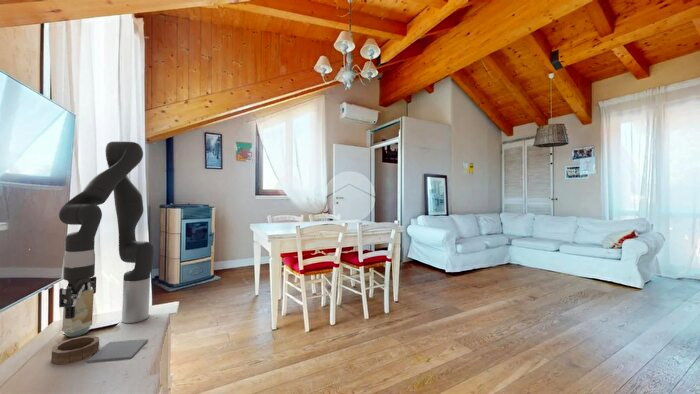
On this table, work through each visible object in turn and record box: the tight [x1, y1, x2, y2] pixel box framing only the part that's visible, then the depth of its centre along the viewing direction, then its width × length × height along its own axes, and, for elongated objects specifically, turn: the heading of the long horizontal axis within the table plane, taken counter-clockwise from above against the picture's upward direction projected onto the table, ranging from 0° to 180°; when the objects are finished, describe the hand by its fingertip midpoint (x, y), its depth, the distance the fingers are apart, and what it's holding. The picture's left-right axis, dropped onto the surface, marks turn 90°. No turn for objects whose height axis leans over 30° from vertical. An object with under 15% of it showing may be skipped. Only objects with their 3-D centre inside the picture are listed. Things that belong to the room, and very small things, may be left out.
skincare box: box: [61, 289, 95, 333], centre depth 95 cm, size 6×4×12 cm
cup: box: [63, 326, 91, 338], centre depth 108 cm, size 8×8×10 cm
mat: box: [87, 338, 149, 363], centre depth 98 cm, size 12×12×1 cm
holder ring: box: [50, 335, 100, 365], centre depth 95 cm, size 11×11×4 cm
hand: (78, 313), depth 95 cm, fingers closed on skincare box, 7 cm apart
